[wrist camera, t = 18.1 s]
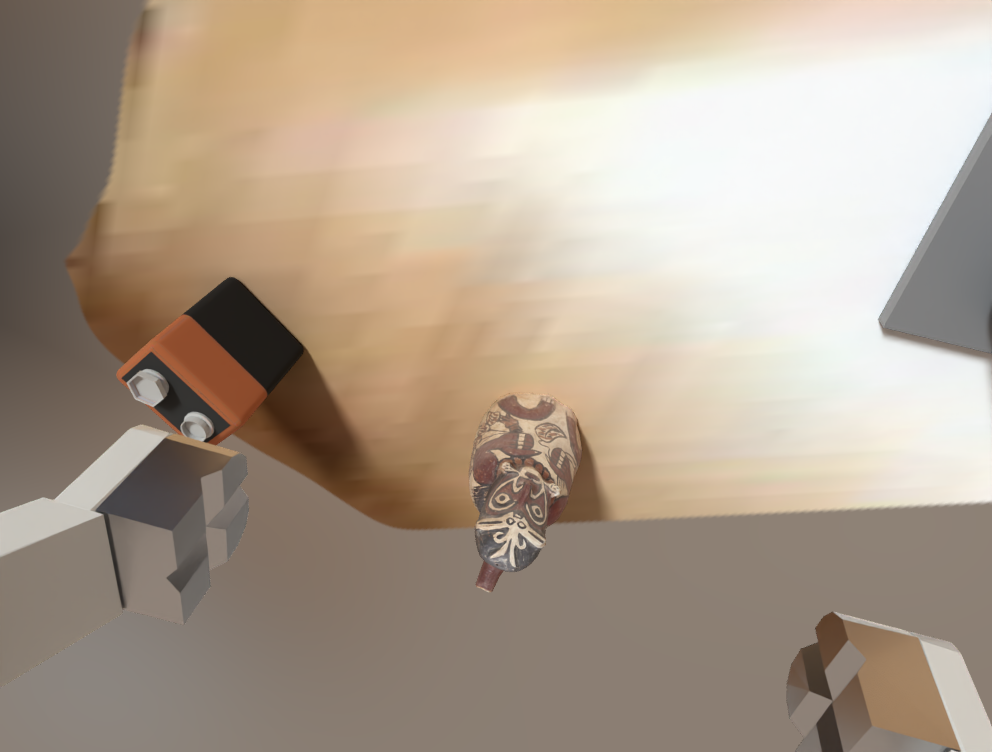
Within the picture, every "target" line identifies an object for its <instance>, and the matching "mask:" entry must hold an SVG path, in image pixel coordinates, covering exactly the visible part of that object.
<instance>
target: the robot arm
mask: <svg viewBox="0 0 992 752" xmlns="http://www.w3.org/2000/svg"><path fill="white" fill-rule="evenodd" d="M247 475H248V472H247V460H246V456H244V455H243V454H241V453H239V452H236V451H232V450H229V449H226V448H222V447H219V446H216V445H212V444H209V443H205V442H202V441H199V440H195V439H192V438H189V437H185V436H182V435H178V434H172V433H169V432H166V431H162V430H159V429H156V428H152V427H149V426H145V425H142V424H141V425H139V426H136V427H133V428H131V429H129V430H128V431H127V432H126V433H125V434H124V435H123V436H122V437H120V438H119V440H117V441H116V442H115V443H114V444H113V445H112V446H111V447H110V448H109V449H108V450H107V451H106V452H104V453H103V454H102V455H101V456H100V457H99V458H98V459H97V460H96V461H95V462H94V463H93V464H92V465H91V466H90V467H89V468H88V469H86V470H85V471H84V472H83V473H82V474H81V475H80V476H79V477H78V478H77V479H76V480H75V481H74V482H73V483H72V484H70V485H69V486H68V487H67V488H66V489H65V490H64V491H63V492H62V493H61V494H60V495H59V496H58V497H57V498H56V499H54V500H51V499H47V498H41V499H38V500H35V501H32V502H29V503H26V504H24V505H21V506H18V507H15V508H13V509H10V510H7V511H4V512H1V513H0V688H1V687H2V686H4V685H6V684H7V683H9V682H11V681H12V680H14V679H16V678H17V677H19V676H21V675H22V674H24V673H25V672H27V671H29V670H30V669H32V668H34V667H35V666H37V665H39V664H40V663H42V662H44V661H45V660H47V659H49V658H50V657H52V656H54V655H55V654H57V653H59V652H60V651H62V650H63V649H65V648H67V647H68V646H70V645H72V644H73V643H75V642H77V641H78V640H80V639H82V638H83V637H85V636H87V635H88V634H90V633H92V632H93V631H95V630H96V629H98V628H99V627H101V626H103V625H105V624H106V623H108V622H110V621H111V620H113V619H114V618H116V617H118V616H120V615H121V614H122V613H123V610H126V611H130V612H134V613H138V614H142V615H146V616H150V617H154V618H157V619H161V620H165V621H169V622H173V623H177V624H181V625H184V624H185V623H186V621H187V620H188V618H189V617H190V616H191V614H192V613H193V611H194V610H195V608H196V607H197V605H198V604H199V602H200V601H201V599H202V598H203V597H204V595H205V594H206V592H207V591H208V589H209V588H210V586H211V585H210V571H209V570H211V569H213V568H215V567H217V566H219V565H221V564H223V563H225V562H227V561H228V560H229V558H230V557H231V555H232V554H233V552H234V551H235V549H236V547H237V546H238V544H239V542H240V539H241V537H242V534H243V531H244V529H245V527H246V523H247V517H248V512H249V505H248V504H249V499H248V496H247V495H246V494H245V492H244V491H243V490H242V488H241V487H240V484H241V483H242V482H243V480H244V479H245V477H246V476H247ZM815 629H816V634H817V639H818V642H817V643H814V644H812V645H809V646H806V647H804V648H801V649H800V651H799V653H798V654H797V656H796V657H795V659H794V661H793V662H792V664H791V668H790V672H789V676H788V680H787V706H788V713H789V719H790V720H791V721H792V723H793V724H794V725H795V727H796V728H797V729H798V731H799V732H800V733H801V735H802V736H803V737H804V739H803V740H802V742H801V743H800V745H799V746H798V748H797V749H796V751H795V752H992V725H991V723H990V721H989V718H988V716H987V714H986V711H985V709H984V707H983V704H982V702H981V700H980V697H979V695H978V693H977V691H976V688H975V686H974V683H973V681H972V679H971V676H970V674H969V672H968V670H967V667H966V665H965V662H964V660H963V658H962V655H961V653H960V652H959V650H958V649H957V648H956V647H955V646H954V645H953V644H952V643H951V642H948V641H944V640H940V639H937V638H933V637H928V636H925V635H921V634H917V633H914V632H907V631H905V630H902V629H898V628H894V627H890V626H887V625H883V624H879V623H875V622H871V621H867V620H863V619H859V618H856V617H851V616H848V615H843V614H840V613H836V612H831V613H829V614H827V615H825V616H824V617H823V618H822V619H821V621H820V622H819V624H818V625H817V626H816V628H815Z"/></svg>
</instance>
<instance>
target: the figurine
mask: <svg viewBox="0 0 992 752" xmlns="http://www.w3.org/2000/svg"><path fill="white" fill-rule="evenodd" d="M581 456H582V447H581V441H580V434H579V430H578V427H577V419H576V417H575V414H574V413H573V411H572V409H571V408H569V407H568V406H565V405H564V404H562V403H560V402H559V401H558V400H557V399H555V398H554V397H552V396H550V395H548V394H533V393H509V394H507V395H505V396H503V397H501V398H499V399H498V400H497V401H496V402H495V403H494V404H493V405H492V406H491V407H490V408H489V409H488V410H487V412H486V413H485V414H484V416H483V419H482V421H481V423H480V425H479V427H478V429H477V433H476V436H475V440H474V444H473V451H472V455H471V462H470V468H469V490H470V494H471V498H472V500H473V503H474V505H475V507H476V508H477V510H478V511H479V512H480V515H479V519H478V521H477V522H476V524H475V538H476V545H477V549H478V552H479V555H480V557H481V558H482V559H483V560H484V562H483V565H482V567H481V570H480V573H479V576H478V579H477V582H476V587H479V588H482V589H483V590H485V591H487V592H492V591H493V589H494V587H495V585H496V583H497V581H498V579H499V576H500V575H501V574H502V572H503V571H509V572H517V571H520V570H522V569H524V568H526V567H527V566H529V565H530V564H531V563H532V562H533V561H534V560H535V559H536V557H537V556H538V554H539V552H540V550H541V549H542V548H543V547H544V546H545V545H546V538H545V531H546V528H547V527H548V526H550V525H551V524H553V523H554V522H555V521H556V520H557V519H558V518H559V517H560V515H561V513H562V512H563V510H564V508H565V506H566V504H567V502H568V497H569V493H570V490H571V486H572V483H573V479H574V476H575V474H576V472H577V469H578V467H579V464H580V461H581Z"/></svg>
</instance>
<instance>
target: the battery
mask: <svg viewBox="0 0 992 752" xmlns="http://www.w3.org/2000/svg"><path fill="white" fill-rule="evenodd" d="M302 354H303V347H302V346H301V345H300V344H299V343H298V341H297V340H296V339H295V338H294V337H293V336H292V335H291V334H290V333H289V332H288V331H287V330H286V329H285V328H284V327H283V326H282V325H281V324H280V323H279V322H278V321H277V320H276V319H275V318H274V317H273V316H272V315H271V314H270V313H269V312H268V311H267V310H266V309H265V308H264V307H263V306H262V305H261V304H260V303H259V302H258V300H257V299H256V298H255V297H254V296H253V295H252V294H251V293H250V292H249V291H248V290H247V289H246V288H245V287H244V286H243V285H242V284H241V283H240V282H239V281H238V280H237V279H235V278H233V277H229V278H227V279H226V280H224V281H223V282H222V283H221V284H219V285H218V286H217V287H216V288H215V289H213V290H212V291H211V292H210V293H208V294H207V295H206V296H205V297H203V298H202V299H201V300H200V301H199V302H197V303H196V304H195V305H194V306H192V307H191V308H190V309H189V310H187V311H186V312H185V313H184V314H183V315H181V316H180V317H179V318H178V319H176V320H175V321H174V322H173V323H171V324H170V325H169V326H168V327H167V328H165V329H164V330H163V331H162V332H160V333H159V334H158V335H157V336H155V337H154V338H153V339H152V340H151V341H149V342H148V343H147V344H146V345H145V346H144V347H143V348H142V349H141V350H140V351H138V352H137V353H136V354H135V355H134V356H133V357H132V358H131V359H130V360H129V361H128V362H126V363H125V364H124V365H123V366H122V367H121V368H120V369H119V370H118V371H117V378H118V379H119V381H120V382H121V383H123V385H125V386H126V387H127V388H128V389H129V390H130V391H131V392H132V394H133V396H134V398H135V399H136V400H138V401H140V402H143V403H145V404H146V405H147V406H148V407H149V408H150V409H151V410H152V411H154V412H155V413H156V414H157V415H158V416H159V417H160V418H161V419H162V420H164V421H165V422H166V423H167V424H168V425H169V426H170V427H171V428H172V429H173V430H175V431H176V432H177V433H178V434H179V435H182V436H185V437H189V438H192V439H195V440H199V441H202V442H205V443H209V444H212V445H217V444H218V443H220V442H221V441H223V440H224V439H225V438H227V437H228V436H230V435H231V434H232V433H234V432H235V431H237V430H238V429H239V428H241V427H242V426H243V425H244V424H245V423H246V421H247V420H248V419H249V418H250V417H251V415H252V414H253V413H254V412H255V411H256V409H257V408H258V407H259V406H260V405H261V403H262V402H263V401H264V400H265V398H266V397H267V396H268V395H269V394H270V392H271V391H272V390H273V389H274V388H275V386H276V385H277V384H278V383H279V382H280V380H281V379H282V378H283V377H284V376H285V374H286V373H287V372H288V371H289V370H290V368H291V367H292V366H293V365H294V364H295V362H296V361H297V360H298V359H299V358H300V356H301V355H302Z"/></svg>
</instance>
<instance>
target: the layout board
mask: <svg viewBox="0 0 992 752" xmlns="http://www.w3.org/2000/svg"><path fill="white" fill-rule="evenodd" d="M879 321H880V323H881V325H882V326H883V328H887V329H891V330H895V331H900V332H904V333H908V334H912V335H916V336H920V337H925V338H929V339H933V340H937V341H941V342H945V343H950V344H954V345H958V346H962V347H966V348H970V349H975V350H979V351H983V352H987V353H991V354H992V114H991V116H990V117H989V119H988V121H987V123H986V125H985V126H984V128H983V130H982V132H981V134H980V136H979V137H978V139H977V141H976V143H975V145H974V146H973V148H972V150H971V152H970V154H969V155H968V157H967V159H966V161H965V163H964V165H963V166H962V168H961V170H960V172H959V174H958V175H957V177H956V179H955V181H954V183H953V184H952V186H951V188H950V190H949V192H948V194H947V195H946V197H945V199H944V201H943V203H942V204H941V206H940V208H939V210H938V212H937V214H936V215H935V217H934V219H933V221H932V223H931V224H930V226H929V228H928V230H927V232H926V233H925V235H924V237H923V239H922V241H921V243H920V244H919V246H918V248H917V250H916V252H915V253H914V255H913V257H912V259H911V261H910V262H909V264H908V266H907V268H906V270H905V272H904V273H903V275H902V277H901V279H900V281H899V282H898V284H897V286H896V288H895V290H894V291H893V293H892V295H891V297H890V299H889V301H888V302H887V304H886V306H885V308H884V310H883V311H882V313H881V315H880V317H879Z"/></svg>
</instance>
